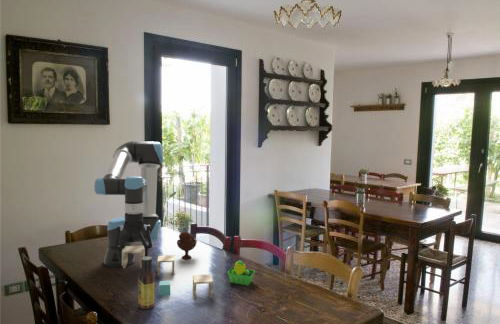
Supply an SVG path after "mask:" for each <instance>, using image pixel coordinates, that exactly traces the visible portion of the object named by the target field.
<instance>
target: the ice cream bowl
mask: <svg viewBox="0 0 500 324" xmlns="http://www.w3.org/2000/svg"><path fill="white" fill-rule="evenodd" d="M197 241H198V239H195V236H194V235H193V234H192V233H190V232H188V231H182V232H180V233H179V235H178V239H177V240H176V245H177V247H178V248H179V249H180V250H182V251H184V253H185V254H183V255H182V256H181V260H185V261H186V260H191V259H192V256H191V254H189V251H192V250H194V248H195V247H196V246H197Z"/></svg>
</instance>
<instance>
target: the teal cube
mask: <svg viewBox="0 0 500 324" xmlns="http://www.w3.org/2000/svg"><path fill="white" fill-rule="evenodd" d="M158 291H159V293H158V295H159V296H171V280H159V289H158Z"/></svg>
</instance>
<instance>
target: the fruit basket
mask: <svg viewBox="0 0 500 324" xmlns="http://www.w3.org/2000/svg"><path fill="white" fill-rule="evenodd" d="M246 268H247V266H246V264H245V263H244V262H243V261H242V260H238V261H236V262H235V264H234V267H231V268H230V269H229V270H228V271H227V275H228V280H229V283H232V284H236V285H238V284H239V285H243V286H249V285H250V284H251V283H252V281H253V277H254V275H255V270H253V269H246Z"/></svg>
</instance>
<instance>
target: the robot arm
mask: <svg viewBox="0 0 500 324" xmlns="http://www.w3.org/2000/svg"><path fill="white" fill-rule="evenodd" d="M130 163H135V164H138V165H137V166H138V167H139V168H140V176H138V175H130V176H126V177H125V178H124V177H123V176H124V175H125V172H126V169H127V167H128V166H129V165H130ZM163 163H164V152H163V146H162V143H160V141H153V140H152V141H148V140H147V141H146V140H145V141H136V140H132V141H127V142H125V143H122V144H121V145H120V146H118V147H117V149H116V150H115V151H114V152H113V154H112V161H111V162H110V165H109V166H108V168H107V170H106V172H105V174H104V176H103V177H98V178H96V179H95V180H94V193H95V194H96V195H100V196H101V195H102V196H124V212H125V213H124V216H120V217H115V218H112V219H110V220H109V221H108V222H107V229H106V231H107V250H106V252H105V255H104V258H103V265H105V266H106V267H112V268H115V267H116V268H120V267H123V250H124V248H125V246H132V243H136V244H137V243H141V245H142V246H144V249H143V257H147V256H148V257H149V249H151V248H152V247H153V243H156V242H157V241H158V240H159V237H160V235H161V229H162V220H161V219H159V216H158V214H157V213H156V212H157V191H158V190H157V189H158V169H159V168H160V167H161V164H163ZM135 261H136V260H135V253H128V262H127V265H126V266H130V265H132V264H133V263H134V262H135Z"/></svg>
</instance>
